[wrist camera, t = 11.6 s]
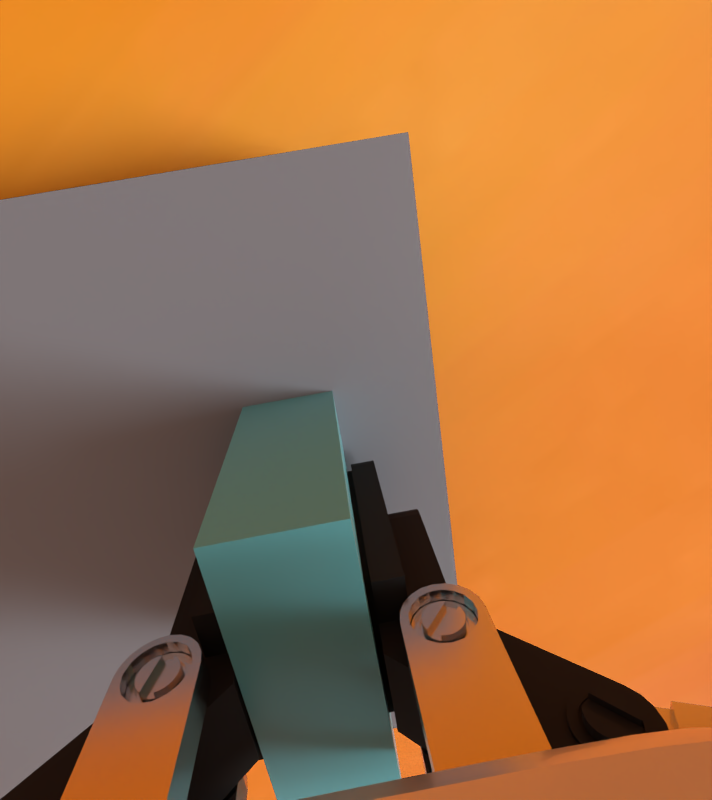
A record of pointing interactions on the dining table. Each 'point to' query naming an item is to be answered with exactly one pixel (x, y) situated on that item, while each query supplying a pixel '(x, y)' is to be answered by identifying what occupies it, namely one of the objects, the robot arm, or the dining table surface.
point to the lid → (213, 442)
